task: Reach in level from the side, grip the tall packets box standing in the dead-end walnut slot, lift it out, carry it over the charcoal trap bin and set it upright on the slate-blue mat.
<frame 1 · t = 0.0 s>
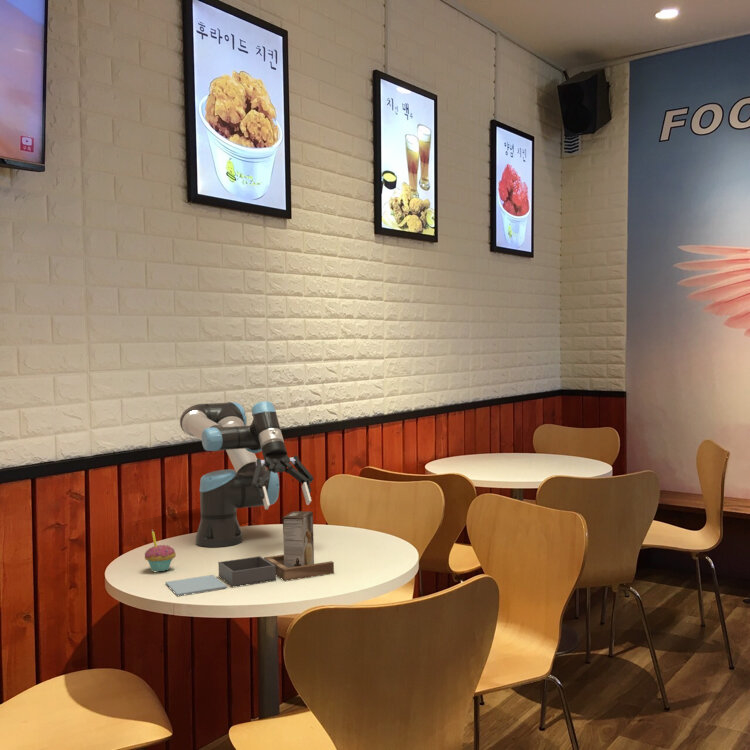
hand: (288, 505, 242), 15 cm above the table, tool tilted 35°, fingers open, 13 cm apart
trap bin: (247, 578, 217), on the table
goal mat: (195, 586, 210), on the table
walnut slot: (299, 570, 224), on the table
cupcake: (160, 570, 227), on the table
coffee box: (299, 571, 224), on the table
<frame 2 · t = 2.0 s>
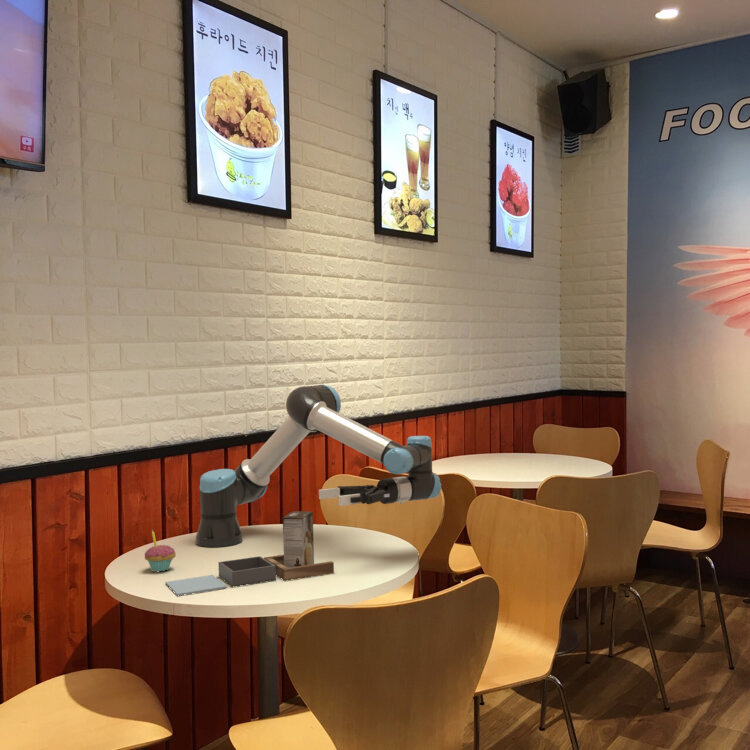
hand: (328, 497, 228), 20 cm above the table, tool horizontal, fingers open, 13 cm apart
nothing on the table moved.
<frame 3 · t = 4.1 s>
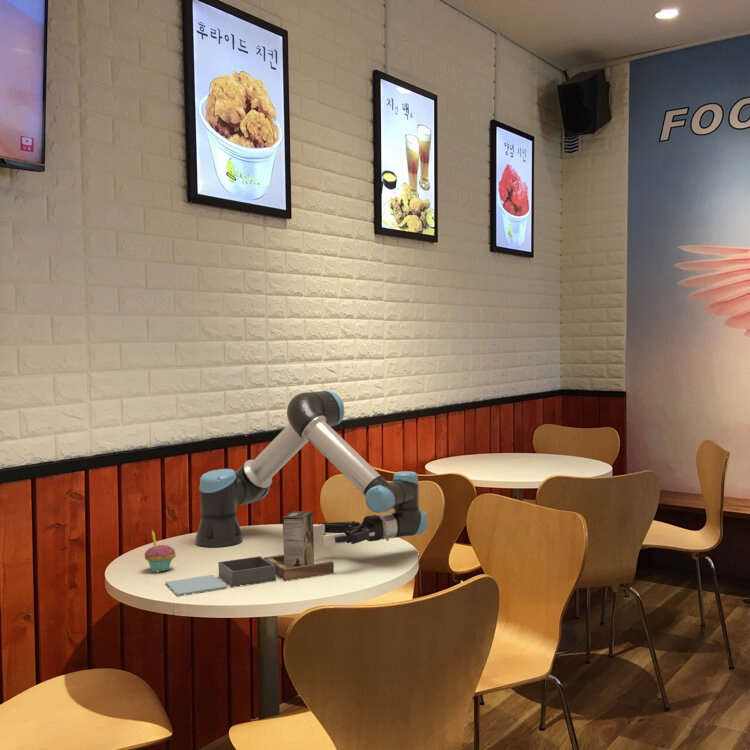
hand: (313, 536, 225), 9 cm above the table, tool horizontal, fingers open, 13 cm apart
nothing on the table moved.
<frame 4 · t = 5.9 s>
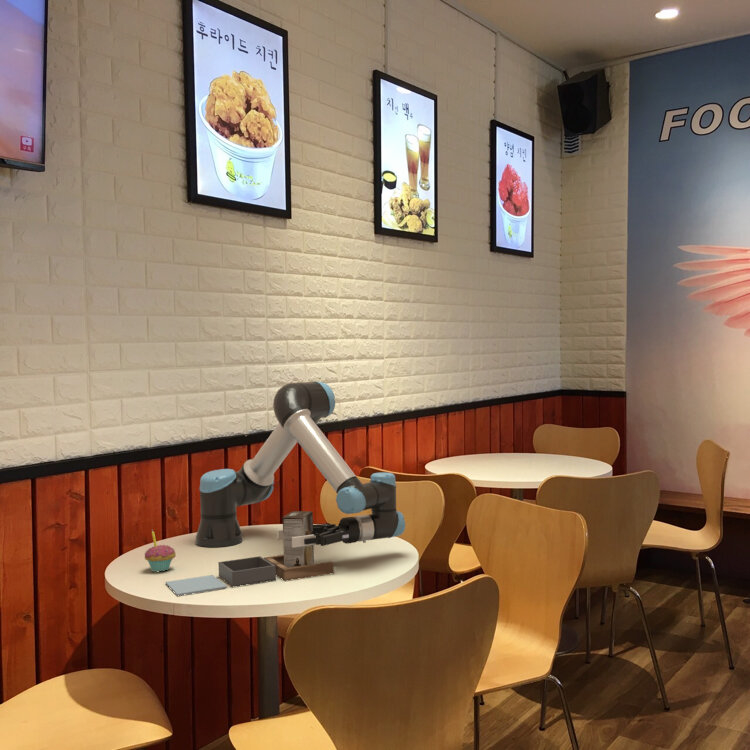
hand: (284, 538, 222), 10 cm above the table, tool horizontal, fingers closed on coffee box, 10 cm apart
coffee box: (299, 571, 224), on the table, touching gripper
everything else where it was.
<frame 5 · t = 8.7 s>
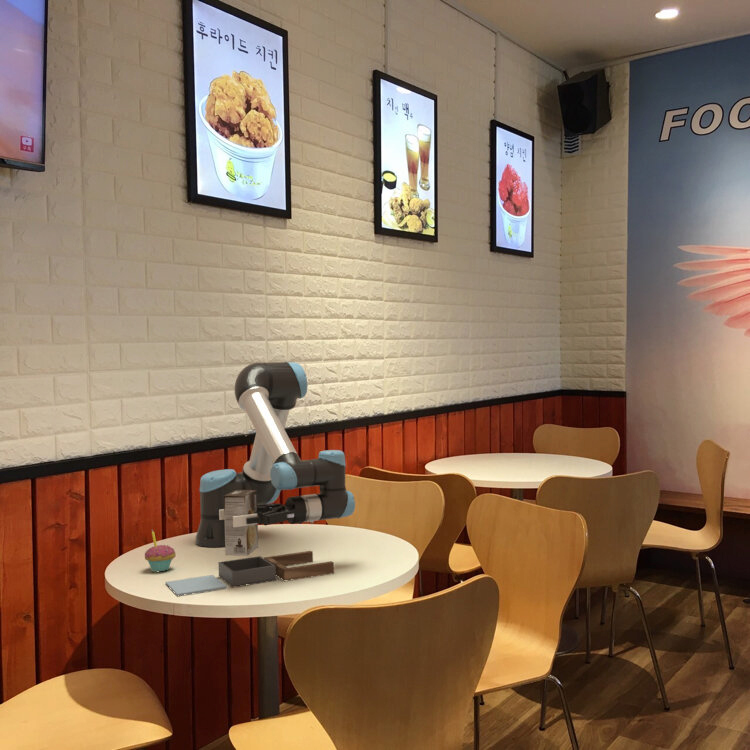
hand: (226, 518, 211), 18 cm above the table, tool horizontal, fingers closed on coffee box, 10 cm apart
coffee box: (242, 552, 213), point 8 cm above the table, touching gripper
everything else where it was.
when the fingers open (11 cm above the table, at t = 11.3 s): coffee box drops 1 cm, resting on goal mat.
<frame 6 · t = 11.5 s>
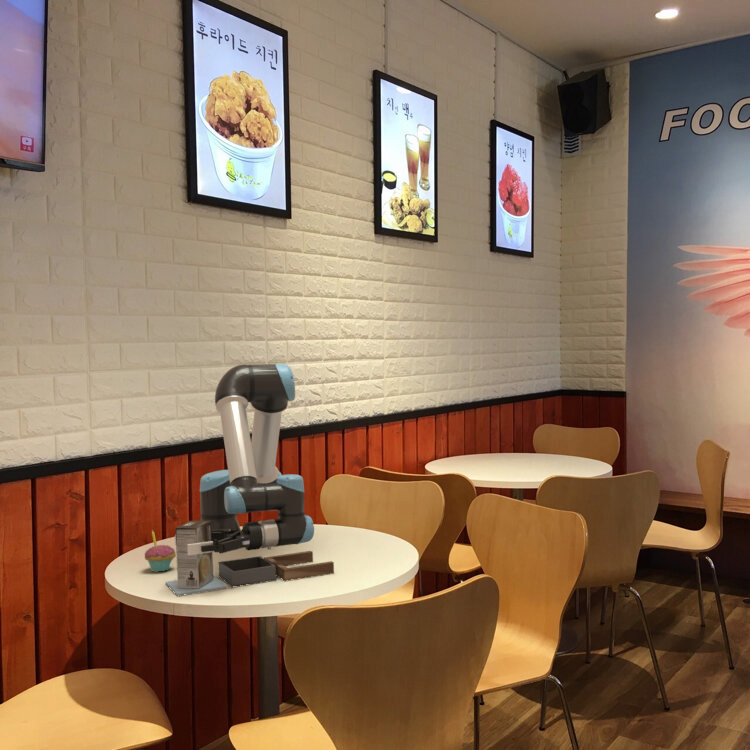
hand: (181, 545, 208), 11 cm above the table, tool horizontal, fingers open, 12 cm apart
coffee box: (195, 584, 210), resting on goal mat
everything else where it was.
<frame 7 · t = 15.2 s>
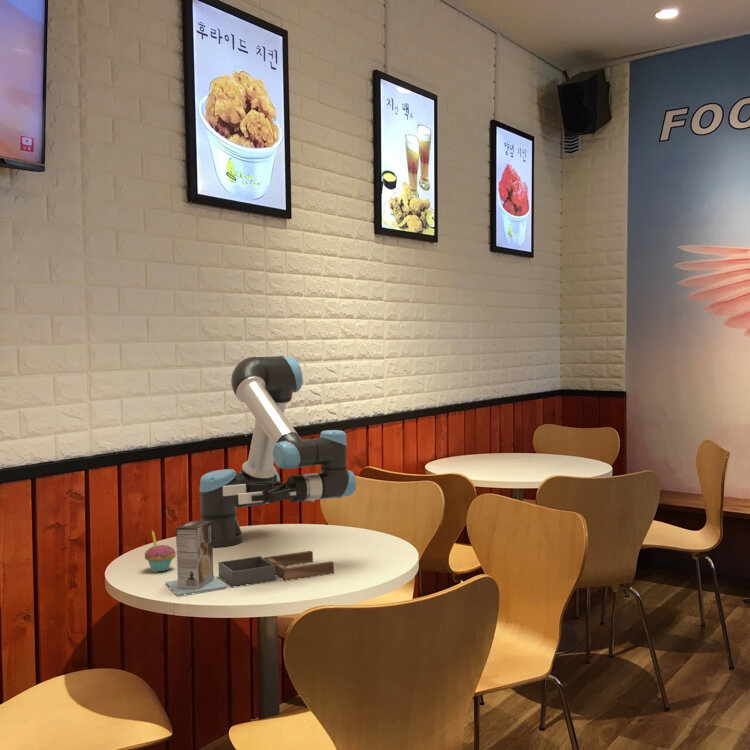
hand: (230, 495, 214), 23 cm above the table, tool horizontal, fingers open, 13 cm apart
nothing on the table moved.
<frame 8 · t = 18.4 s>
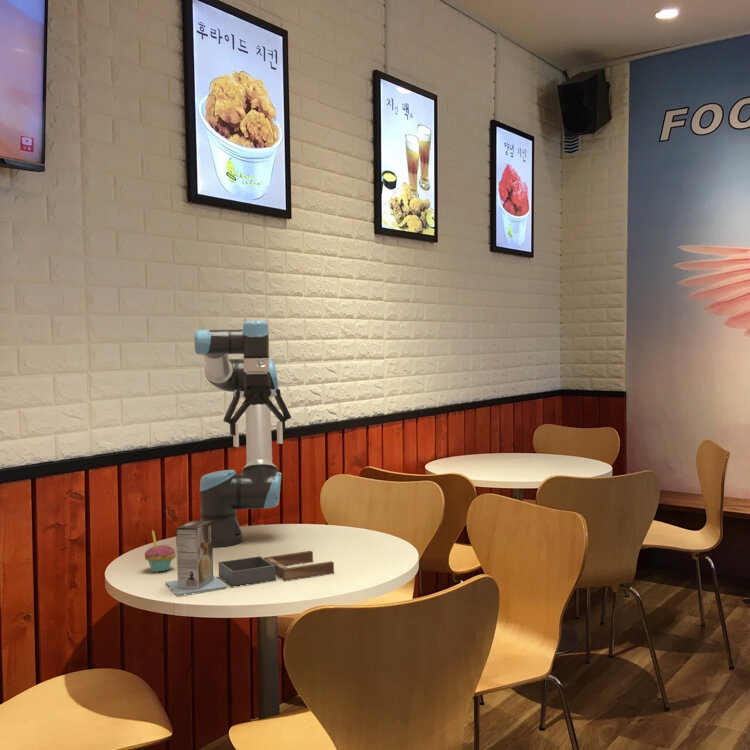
hand: (258, 445, 234), 35 cm above the table, tool pointing down, fingers open, 13 cm apart
nothing on the table moved.
at the end: coffee box inside the target area (0.1 cm from its centre), resting on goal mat; coffee box tilted 0°; coffee box touching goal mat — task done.
